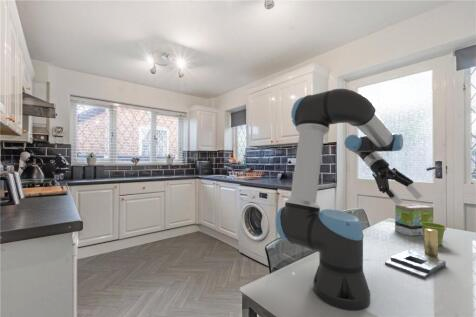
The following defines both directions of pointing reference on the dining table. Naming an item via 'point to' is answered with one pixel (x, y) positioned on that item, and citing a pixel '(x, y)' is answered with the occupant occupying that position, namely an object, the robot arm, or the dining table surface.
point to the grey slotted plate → (428, 261)
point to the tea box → (412, 218)
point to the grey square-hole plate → (410, 268)
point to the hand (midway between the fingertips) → (410, 200)
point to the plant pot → (434, 226)
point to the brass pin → (431, 242)
